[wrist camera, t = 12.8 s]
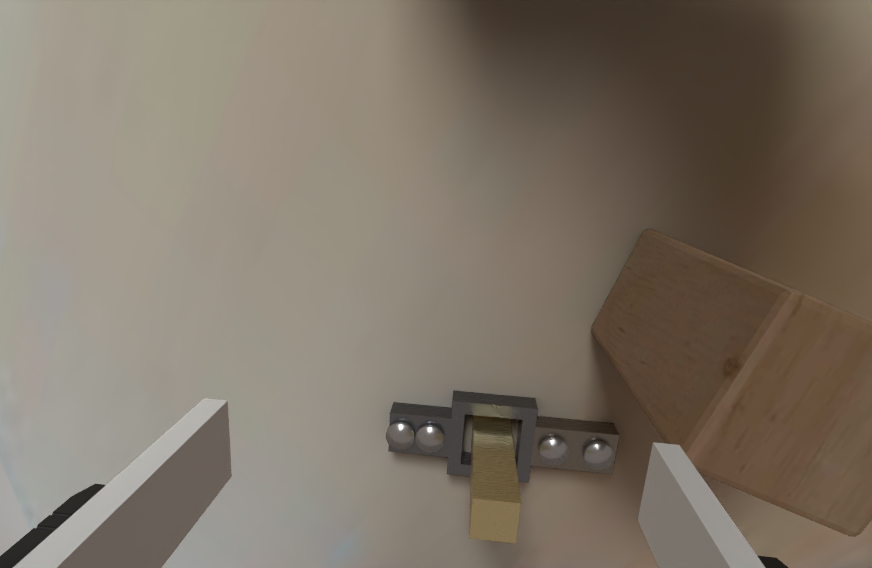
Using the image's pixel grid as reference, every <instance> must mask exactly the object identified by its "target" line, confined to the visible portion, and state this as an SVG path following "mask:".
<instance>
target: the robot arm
mask: <svg viewBox="0 0 872 568" xmlns="http://www.w3.org/2000/svg"><path fill="white" fill-rule="evenodd" d="M231 476H232V475H231V456H230V437H229V418H228V401H226V400H216V399H206V398H204V399H203V400H202V401H201V402H200V403H198V404H197V405H196V406H195V407H194V408H193V409H192V410H190V411H189V412H188V413H187V414H186V415H185V416H184V417H183V418H181V419H180V420H179V421H178V422H177V423H176V424H175V425H174V426H172V427H171V428H170V429H169V430H168V431H167V432H166V433H164V434H163V435H162V436H161V437H160V438H159V439H158V440H157V441H155V442H154V443H153V444H152V445H151V446H150V447H149V448H148V449H146V450H145V451H144V452H143V453H142V454H141V455H140V456H138V457H137V458H136V459H135V460H134V461H133V462H132V463H131V464H129V465H128V466H127V467H126V468H125V469H124V470H123V471H122V472H120V473H119V474H118V475H117V476H116V477H115V478H114V479H112V480H111V481H110V482H109V483H108V484H107V485H101V484H94V485H92V486H90V487H89V488H87V489H85V490H83V491H81V492H79V493H77V494H75V495H74V496H72V497H70V498H69V499H68V500H67V501H66V502H65V503H63V504H62V505H61V506H60V507H59V508H57V509H56V510H55V511H54V512H53V514H52V515H49V516H48V517H47V518H45V519H44V520H43V521H42V522H41V523H39V524H38V526H37V528H36V529H35V528H33V529H32V530H31V531H30V532H29V533H28V534H26V535H25V536H24V537H23V538H22V539H20V540H19V541H18V542H17V543H16V544H14V545H13V546H12V547H11V548H10V549H9V550H7V551H6V552H5V553H4V554H2V555H1V556H0V568H161V567H162V566H163V565H164V563H165V562H166V561H167V560H168V558H169V557H170V556H171V554H172V553H173V552H174V550H175V549H176V548H177V547H178V545H179V544H180V543H181V541H182V540H183V539H184V537H185V536H186V535H187V534H188V532H189V531H190V530H191V528H192V527H193V526H194V524H195V523H196V522H197V521H198V519H199V518H200V517H201V515H202V514H203V513H204V511H205V510H206V509H207V507H208V506H209V505H210V504H211V502H212V501H213V500H214V498H215V497H216V496H217V494H218V493H219V492H220V491H221V489H222V488H223V487H224V485H225V484H226V483H227V481H228V480H229V479H230V478H231ZM638 522H639V524H640V527H641V529H642V531H643V533H644V536H645V538H646V540H647V542H648V545H649V547H650V549H651V551H652V554H653V556H654V558H655V561H656V563H657V565H658V567H659V568H788V567H787V566H786V565H784V564H783V563H782V562H781V561H780V560H778V559H777V558H773V557H764V556H757V555H756V553H755V552H754V551H753V549H752V548H751V546H750V545H749V543H748V542H747V541H746V539H745V538H744V536H743V535H742V534H741V532H740V531H739V529H738V528H737V526H736V525H735V524H734V522H733V521H732V519H731V518H730V516H729V515H728V514H727V512H726V511H725V509H724V508H723V506H722V505H721V504H720V502H719V501H718V499H717V498H716V496H715V495H714V494H713V492H712V491H711V489H710V488H709V487H708V485H707V484H706V482H705V481H704V479H703V478H702V477H701V475H700V474H699V472H698V471H697V469H696V468H695V467H694V465H693V464H692V462H691V461H690V459H689V458H688V457H687V455H686V454H685V452H684V451H683V449H682V448H681V447H680V445H675V444H665V443H655V442H653V445H652V450H651V455H650V460H649V465H648V470H647V475H646V480H645V485H644V490H643V495H642V500H641V505H640V510H639V515H638Z"/></svg>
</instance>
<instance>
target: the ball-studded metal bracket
mask: <svg viewBox="0 0 872 568" xmlns="http://www.w3.org/2000/svg"><path fill="white" fill-rule="evenodd" d="M537 411H538V408H537V404H536V400H535V398H527V397H516V396H505V395H495V394H484V393H473V392H463V391H453V401H452V408H448V407H437V406H427V405H417V404H406V403H396V402H394V403H393V406H392V409H391V412H390V426H389V427H388V430H387V433H386V439H387V442H388V443H389V451H391V452H401V453H411V454H421V455H430V456H440V457H448V466H447V474H451V475H460V476H470V471H471V453H468V452H462V442H463V430H464V418H465V414H468V415H479V416H489V417H499V418H510V419H520V420H519V429H518V437H517V446H516V454H515V460H516V468H517V476H518V482H527V483H528V482H529V474H530V466H538V467H547V468H557V469H567V470H577V471H586V472H596V473H606V474H613V468H614V463H615V457H616V451H617V446H618V440H619V434H618V432H617V430H616V428H615V426H614V424H613V423H604V422H594V421H583V420H573V419H562V418H552V417H542V416H537Z"/></svg>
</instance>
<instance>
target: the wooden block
mask: <svg viewBox="0 0 872 568" xmlns="http://www.w3.org/2000/svg"><path fill="white" fill-rule="evenodd" d="M591 331H592V332H593V334H594V336H595V337H596V339H597V340H598V342H599V343H600V345H601V346H602V348H603V349H604V351H605V352H606V354H607V355H608V357H609V358H610V360H611V361H612V363H613V364H614V366H615V367H616V369H617V370H618V372H619V373H620V375H621V376H622V378H623V380H624V381H625V383H626V384H627V386H628V387H629V389H630V390H631V392H632V393H633V395H634V396H635V398H636V399H637V401H638V402H639V404H640V405H641V407H642V408H643V410H644V411H645V413H646V414H647V416H648V417H649V419H650V420H651V422H652V424H653V425H654V427H655V428H656V430H657V431H658V433H659V434H660V436H661V437H662V439H663V440H664V442H665V443H666V444H675V445H680V447H681V448H682V449H683V451H684V452H685V454H686V455H687V457H688V458H689V459H690V461H691V462H692V464H693V465H694V467H695V468H696V469H697V471H698V472H699V473H701V474H703V475H705V476H708V477H710V478H713V479H715V480H717V481H720V482H722V483H724V484H727V485H729V486H732V487H734V488H736V489H739V490H741V491H743V492H746V493H748V494H751V495H753V496H755V497H758V498H760V499H762V500H765V501H767V502H770V503H772V504H774V505H777V506H779V507H781V508H784V509H786V510H789V511H791V512H793V513H796V514H798V515H800V516H803V517H805V518H808V519H810V520H812V521H815V522H817V523H819V524H822V525H824V526H827V527H829V528H831V529H834V530H836V531H838V532H841V533H843V534H846V535H848V536H857V535H859V534H860V533H861V532H862V531H863V530H864V528H865V527H866V526H867V525H868V524H869V522H870V521H871V520H872V322H869V321H867V320H865V319H863V318H860V317H858V316H856V315H853V314H851V313H849V312H846V311H844V310H842V309H839V308H837V307H835V306H833V305H830V304H828V303H826V302H823V301H821V300H819V299H816V298H814V297H812V296H809V295H807V294H805V293H803V292H800V291H798V290H796V289H793V288H791V287H788V286H786V285H784V284H781V283H779V282H776V281H774V280H771V279H769V278H767V277H764V276H762V275H759V274H757V273H755V272H752V271H750V270H747V269H745V268H743V267H740V266H738V265H735V264H733V263H731V262H728V261H726V260H723V259H721V258H718V257H716V256H714V255H711V254H709V253H706V252H704V251H702V250H699V249H697V248H694V247H692V246H690V245H687V244H685V243H682V242H680V241H678V240H675V239H673V238H670V237H668V236H665V235H663V234H661V233H658V232H656V231H653V230H649V229H646V230H645V231H644V232H643V233H642V235H641V237H640V238H639V240H638V242H637V244H636V246H635V248H634V249H633V251H632V253H631V255H630V257H629V259H628V261H627V262H626V264H625V266H624V268H623V270H622V272H621V274H620V275H619V277H618V279H617V281H616V283H615V285H614V286H613V288H612V290H611V292H610V294H609V296H608V298H607V299H606V301H605V303H604V305H603V307H602V309H601V311H600V312H599V314H598V316H597V318H596V320H595V322H594V323H593V325H592V330H591Z"/></svg>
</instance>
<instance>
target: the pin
mask: <svg viewBox="0 0 872 568" xmlns="http://www.w3.org/2000/svg"><path fill="white" fill-rule="evenodd" d="M520 508H521V499H520V491H519V484H518V476H517V468H516V460H515V452H514V444H513V437H512V429H511V421H510V418H499V417H489V416H479V415H474V417H473V428H472V439H471V471H470V521H469V538H472V539H481V540H490V541H499V542H507V543H516V540H517V532H518V524H519V516H520Z"/></svg>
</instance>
